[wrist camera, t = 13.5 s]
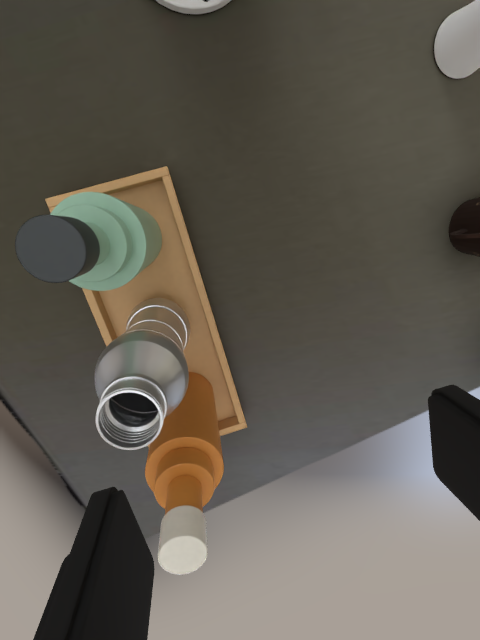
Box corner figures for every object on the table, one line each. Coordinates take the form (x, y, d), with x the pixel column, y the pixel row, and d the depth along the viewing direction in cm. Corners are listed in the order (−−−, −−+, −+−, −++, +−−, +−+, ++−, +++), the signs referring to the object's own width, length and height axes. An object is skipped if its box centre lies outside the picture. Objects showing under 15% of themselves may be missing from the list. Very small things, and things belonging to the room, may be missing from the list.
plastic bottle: (137, 355, 38) (82, 484, 19) (125, 297, 36) (51, 373, 17) (194, 347, 39) (198, 462, 19) (185, 289, 37) (179, 354, 18)
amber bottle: (151, 380, 39) (112, 534, 19) (204, 364, 39) (218, 498, 20) (169, 426, 41) (149, 609, 21) (220, 410, 41) (246, 575, 22)
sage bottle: (87, 215, 33) (-59, 195, 14) (150, 198, 34) (93, 155, 14) (111, 276, 35) (12, 335, 16) (170, 259, 36) (145, 296, 16)
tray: (56, 201, 33) (44, 198, 31) (168, 170, 34) (167, 165, 32) (155, 443, 42) (152, 458, 39) (243, 415, 43) (247, 427, 40)
